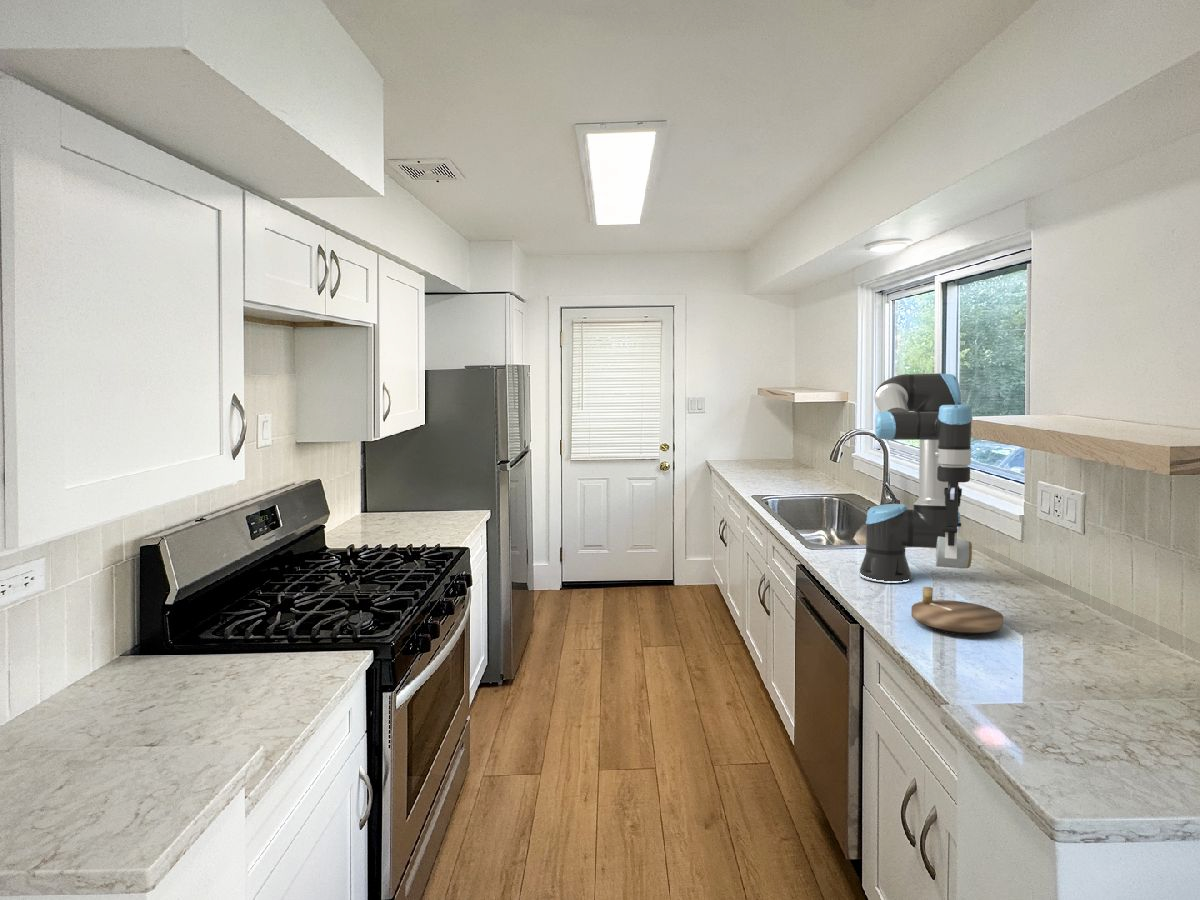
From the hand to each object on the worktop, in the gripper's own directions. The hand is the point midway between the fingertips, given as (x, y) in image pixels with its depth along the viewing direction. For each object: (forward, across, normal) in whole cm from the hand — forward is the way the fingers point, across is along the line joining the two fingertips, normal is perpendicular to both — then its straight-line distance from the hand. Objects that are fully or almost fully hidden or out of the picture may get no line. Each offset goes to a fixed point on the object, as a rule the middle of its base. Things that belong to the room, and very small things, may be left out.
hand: (951, 554), depth 189 cm
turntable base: (+18, +1, +2) cm, 18 cm away
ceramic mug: (+3, -1, 0) cm, 4 cm away
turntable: (+16, +1, +2) cm, 16 cm away
